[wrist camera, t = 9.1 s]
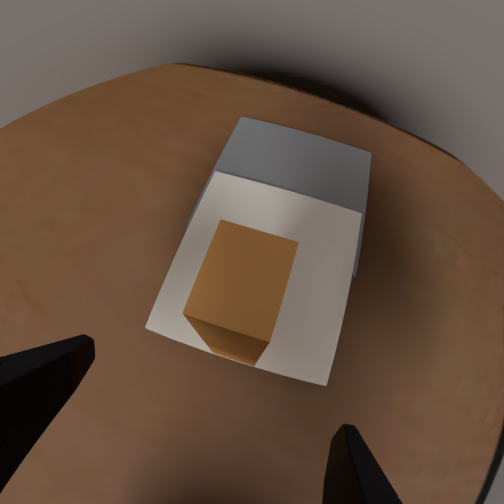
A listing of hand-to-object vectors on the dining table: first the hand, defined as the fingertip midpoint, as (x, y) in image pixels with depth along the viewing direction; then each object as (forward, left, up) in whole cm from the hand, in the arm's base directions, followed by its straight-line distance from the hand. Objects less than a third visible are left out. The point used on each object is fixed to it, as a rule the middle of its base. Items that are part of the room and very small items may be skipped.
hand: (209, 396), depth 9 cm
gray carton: (+11, -11, -10) cm, 19 cm away
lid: (+6, -6, -8) cm, 11 cm away
